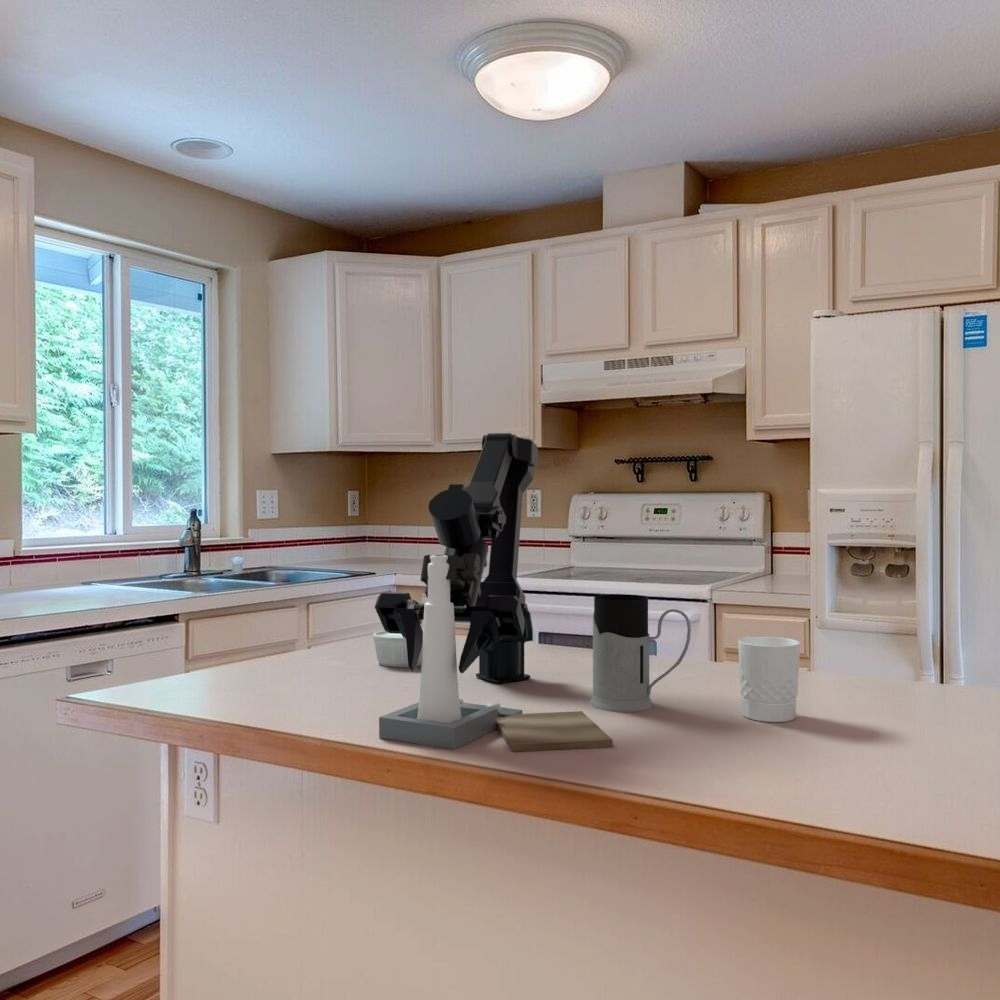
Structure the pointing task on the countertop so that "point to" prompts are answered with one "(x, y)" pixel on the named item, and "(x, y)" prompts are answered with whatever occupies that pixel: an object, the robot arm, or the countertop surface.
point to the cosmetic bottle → (439, 649)
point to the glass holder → (624, 652)
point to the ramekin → (392, 649)
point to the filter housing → (442, 725)
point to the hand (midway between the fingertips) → (435, 669)
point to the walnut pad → (551, 731)
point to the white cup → (769, 677)
